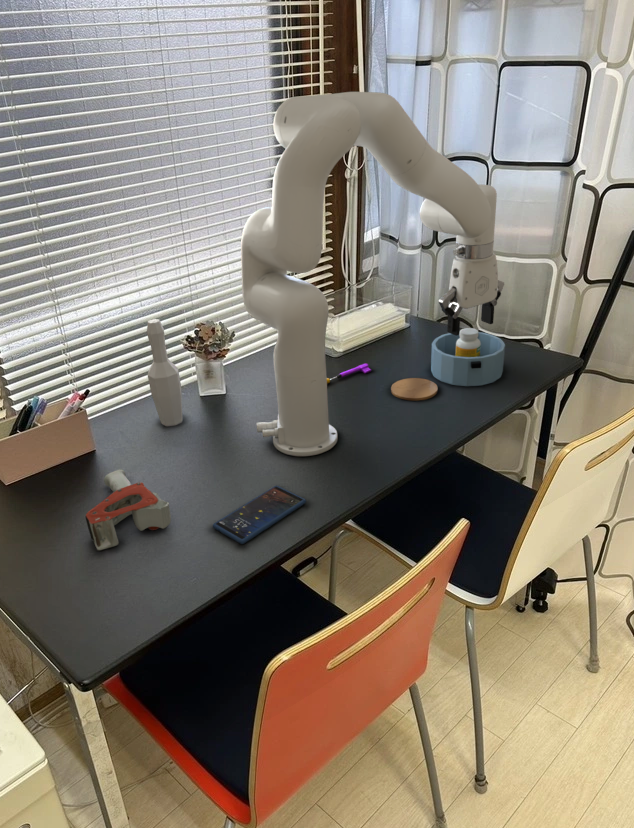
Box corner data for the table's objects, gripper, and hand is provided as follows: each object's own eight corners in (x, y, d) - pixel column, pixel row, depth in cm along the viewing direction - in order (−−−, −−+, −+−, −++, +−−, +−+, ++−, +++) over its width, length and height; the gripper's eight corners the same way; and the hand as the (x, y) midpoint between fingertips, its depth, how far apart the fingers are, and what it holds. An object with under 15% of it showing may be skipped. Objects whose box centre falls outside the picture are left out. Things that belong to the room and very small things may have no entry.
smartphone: (307, 499, 119) (241, 542, 110) (307, 503, 120) (242, 546, 111) (276, 483, 124) (210, 524, 115) (276, 487, 124) (211, 528, 115)
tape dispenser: (117, 486, 131) (54, 546, 115) (111, 460, 129) (45, 518, 112) (203, 492, 126) (150, 556, 109) (199, 466, 123) (143, 527, 107)
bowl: (438, 390, 153) (439, 362, 149) (425, 358, 168) (426, 332, 164) (511, 385, 152) (514, 357, 149) (491, 353, 167) (493, 327, 164)
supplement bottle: (454, 366, 163) (456, 326, 158) (478, 366, 162) (481, 326, 157) (454, 375, 158) (456, 335, 153) (478, 376, 157) (481, 335, 152)
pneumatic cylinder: (365, 365, 165) (311, 387, 158) (366, 361, 165) (311, 383, 157) (373, 371, 164) (318, 393, 156) (373, 367, 163) (318, 389, 156)
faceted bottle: (161, 430, 145) (141, 329, 134) (153, 418, 150) (133, 319, 139) (190, 423, 147) (173, 322, 136) (182, 411, 152) (165, 313, 141)
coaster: (394, 402, 149) (394, 399, 149) (388, 381, 158) (388, 379, 158) (441, 399, 149) (441, 396, 149) (433, 379, 158) (433, 376, 157)
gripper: (454, 262, 139) (451, 343, 149) (518, 244, 146) (512, 322, 155) (429, 254, 145) (428, 333, 154) (492, 237, 152) (487, 313, 161)
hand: (470, 328), depth 155 cm, fingers open, 9 cm apart
